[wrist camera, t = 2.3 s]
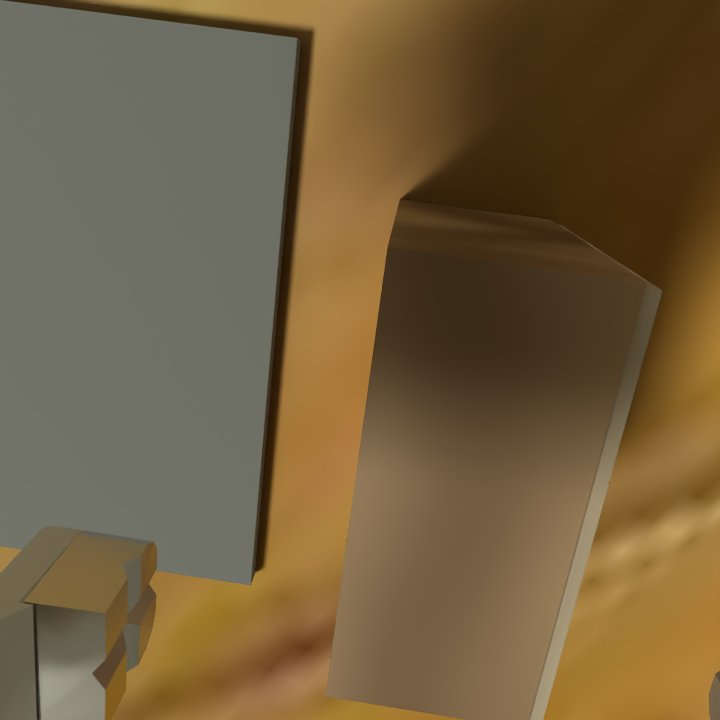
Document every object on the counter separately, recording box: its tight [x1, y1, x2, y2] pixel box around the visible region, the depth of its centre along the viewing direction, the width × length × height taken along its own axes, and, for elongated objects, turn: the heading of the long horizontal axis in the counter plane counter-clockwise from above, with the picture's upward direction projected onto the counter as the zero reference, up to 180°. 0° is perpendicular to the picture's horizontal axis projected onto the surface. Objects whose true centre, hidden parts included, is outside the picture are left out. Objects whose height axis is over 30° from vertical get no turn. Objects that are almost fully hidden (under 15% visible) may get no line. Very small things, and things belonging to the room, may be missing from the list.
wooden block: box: [326, 199, 662, 720], centre depth 16 cm, size 4×9×8 cm, turn 173°
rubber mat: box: [0, 0, 301, 585], centre depth 19 cm, size 14×16×1 cm
